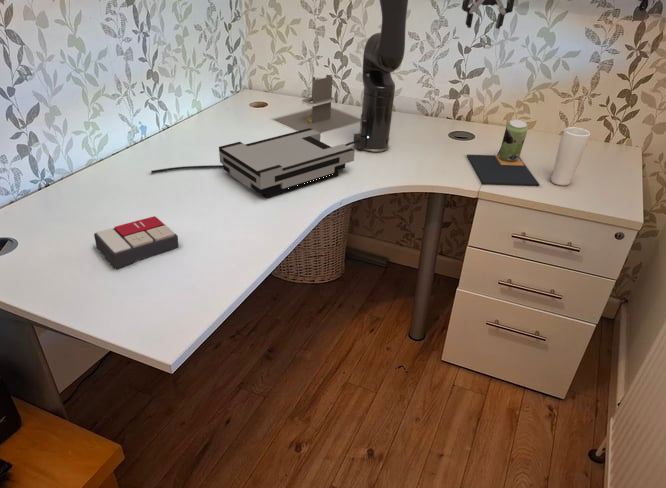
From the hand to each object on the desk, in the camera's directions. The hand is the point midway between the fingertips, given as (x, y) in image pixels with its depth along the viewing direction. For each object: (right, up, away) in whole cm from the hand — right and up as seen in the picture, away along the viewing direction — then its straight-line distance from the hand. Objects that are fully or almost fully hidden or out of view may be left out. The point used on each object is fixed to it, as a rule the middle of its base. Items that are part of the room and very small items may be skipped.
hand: (483, 27), depth 157 cm
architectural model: (-48, -17, +32) cm, 61 cm away
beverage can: (+9, -38, +5) cm, 40 cm away
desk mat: (+5, -42, 0) cm, 43 cm away
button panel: (-91, -68, -38) cm, 120 cm away
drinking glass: (+20, -47, -5) cm, 52 cm away
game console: (-58, -45, -5) cm, 73 cm away
